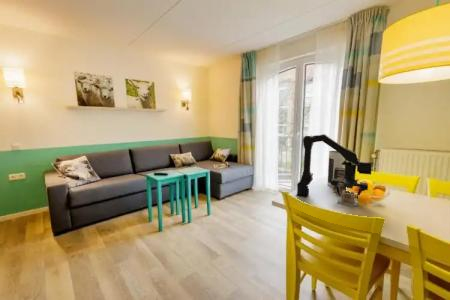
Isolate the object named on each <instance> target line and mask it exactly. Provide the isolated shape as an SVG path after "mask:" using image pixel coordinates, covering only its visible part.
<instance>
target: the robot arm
mask: <svg viewBox="0 0 450 300" xmlns="http://www.w3.org/2000/svg"><path fill="white" fill-rule="evenodd" d="M318 142H323V143H325V144H326V145H327V146H329V147H330V148H331V149H333V150H334V151H338V152H339V153H340V154H341V155H342V156H343V157H344V161H343V162H342V163H341V164H342V165H344V168H345V169H344V179H343V181H339V179H334V178H333V179H332V180H331V185H333V186H334V187H336V189H337V192H336V193H337V195H338V197H341V193H340V184H342V185H343V187H345V188H346V187H347V188H348V189H353V187H356V188H357V187H358V191H357V195H356V199H358V200H359V197H358V195H359V196H360V195H361V193H362V192H365V191H368V188H369V184H368V182H363V181H360V182H359V183H358V180H357V179H356V172H357V173H358V174H359V175H360V174H361V175H372V171H373V170H372V162H371V161H369V162H365V161H360V159H359V158H358V157H357V156H358V155H357V153H356V152H355V151H354V150H351V149H349V148H346V147H344V146H342V145H341V144H340V143H338V142H337V141H335V140H334V139H332V138H330V136H328V135H327V134H325V133H324V134H323V133H322V134H318V135H312V134H308V135H305V136H304V137H303V139H302V143H303V148H304V154H303V155H304V156H303V158H304V159H303V170H302V171H303V172H302V174H301V179H300V180H299V181H298V182H297V184H296V185H297V186H296V187H297V190H296V195H295V196H299V197H303V198H304V197H305V198H307V197H308V196H309V194H310V188H309V185H310V184H311V182H312V181H313V180H314V179H313V175H314V173H312V172H311V164H312V163H311V161H312V151H313V150H312V149H313V146H314V143H318Z"/></svg>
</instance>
